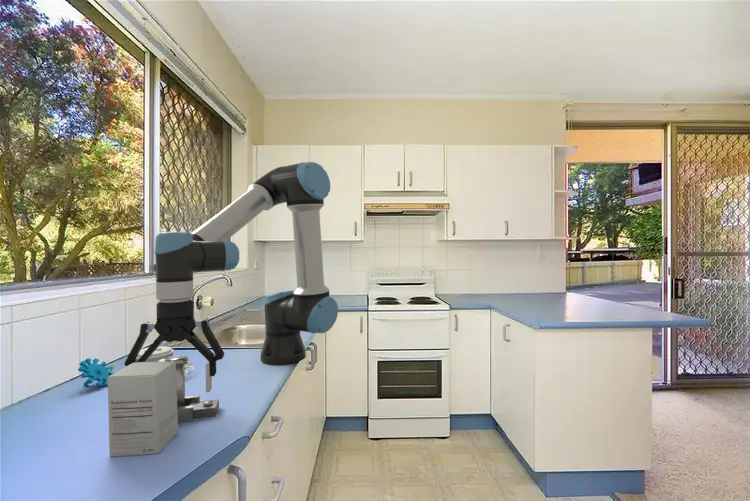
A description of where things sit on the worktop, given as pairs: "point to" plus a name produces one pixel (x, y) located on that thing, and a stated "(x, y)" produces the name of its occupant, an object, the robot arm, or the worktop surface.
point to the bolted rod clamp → (197, 409)
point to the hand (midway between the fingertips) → (177, 393)
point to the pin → (180, 378)
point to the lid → (157, 354)
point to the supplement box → (142, 408)
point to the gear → (95, 372)
